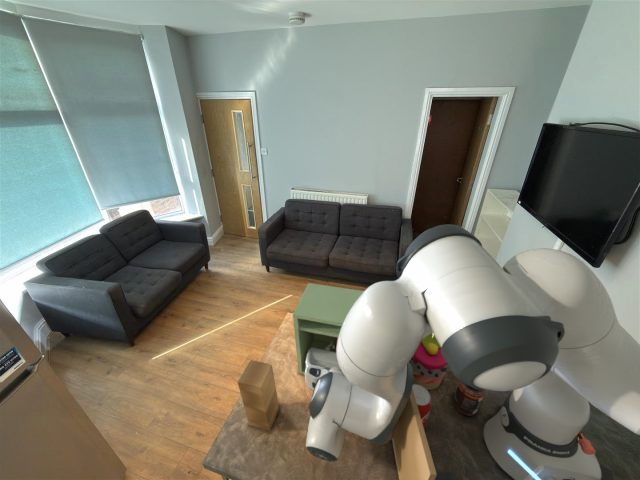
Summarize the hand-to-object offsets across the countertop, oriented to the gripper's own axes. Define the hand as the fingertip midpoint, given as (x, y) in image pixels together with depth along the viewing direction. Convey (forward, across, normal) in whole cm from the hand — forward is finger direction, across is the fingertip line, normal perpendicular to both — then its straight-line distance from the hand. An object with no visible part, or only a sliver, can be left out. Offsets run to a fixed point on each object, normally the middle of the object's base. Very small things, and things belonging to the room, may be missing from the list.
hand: (345, 344), depth 81 cm
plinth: (-22, +18, +8) cm, 29 cm away
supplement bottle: (-6, -34, +8) cm, 35 cm away
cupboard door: (-21, -19, +7) cm, 29 cm away
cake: (+1, -24, +8) cm, 25 cm away
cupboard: (-1, 0, +8) cm, 8 cm away
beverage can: (-14, -20, +8) cm, 26 cm away
